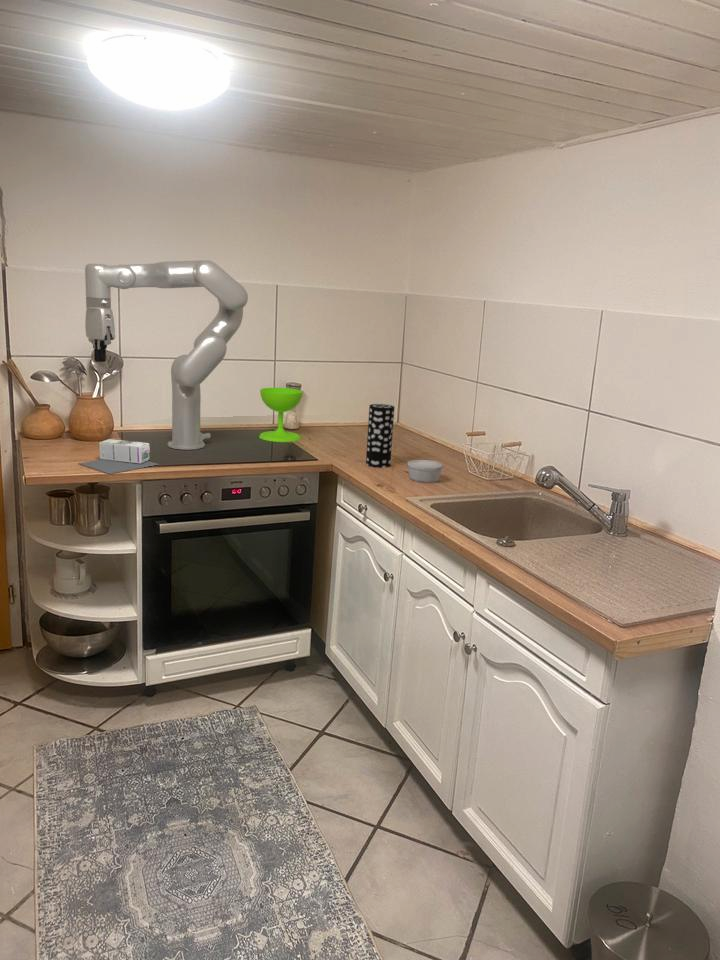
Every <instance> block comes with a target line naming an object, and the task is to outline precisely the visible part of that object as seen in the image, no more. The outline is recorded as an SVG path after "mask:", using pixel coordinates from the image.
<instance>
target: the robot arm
mask: <svg viewBox="0 0 720 960" xmlns="http://www.w3.org/2000/svg"><path fill="white" fill-rule="evenodd" d="M84 277H85V278H84V279H85V281H84V282H85V305H86V306H85V307H86V310H85V336H86V338H88V342H89V343H91V344H92V349H93V353H94V359H93V360H94V362H97V363H102V362H106V361H107V348H108V346H109V345H112V341H114V340H115V339H116V330H115V329H116V327H115V319H114V318H115V317H114V313H113V309H112V299H111V298H112V297H111V294H112V291H111V288H113V289H114V288H116V289H119V290H120V289H121V290H128V289H133V288H134V289H135V288H138V289H139V288H156V289H157V288H158V289H182V288H183V289H184V288H204V289H206V290H207V291H208V292H209V293H210V294H211V295H213V296H214V297H215V298H216V299H217V302H218V311H217V313H216V315H215V317H214V318H213V319H212V321H211V322H210V323H209V324H207V326H206V327H205V328H204V330H203V331H201V333H199V335H198V336H197V337H196V338H195V340H194V342H193V348H192V350H191V351H190V352H189V353H188V354H182V355H178V356H177V357H176V358H175V359H174V360H173V361H172V364H171V367H170V375H171V378H170V379H171V391H172V394H171V395H172V397H171V400H172V402H171V411H172V412H171V417H172V418H171V421H172V422H171V428H172V429H171V430H172V431H171V434H172V435H171V439H172V440H169V441H168V442H167V447H168V448H171V449H174V450H184V451H185V450H186V451H187V450H188V451H190V450H199V449H203V448H204V447H205V442H204V441H205V440H207V439H211V433H210V432H205V433H203V432H201V402H202V401H201V398H202V397H201V384H202V383H203V382H204V381H205V380H206V379H207V378H208V377H209V376H210V375H211V373H212V372H213V371H214V370H215V369H216V368H217V367H218V365H219V364H220V363H221V362H222V361H223V359H224V358H225V356H226V354H227V348H228V346H227V344H228V342H229V341H230V340H231V338H233V336H234V335H235V334H236V333H237V331H238V330H239V328H240V326H241V324H242V321H243V319H244V307H246V305H247V303H248V300H249V298H248V292H247V290H246V288H245V287H244V286H243V285H242V284H240V283H239V281H237V280H236V279H235V278H233V277H232V276H231V275H230V274H229V273H228V272H226V271H225V270H224V269H223V268H222V267H221V266H219V265H218V264H217V263H216V262H214V261H212V260H210V259H209V260H207V259H206V260H202V259H201V260H181V261H180V260H179V261H178V260H177V261H173V260H172V261H158V262H154V263H139V264H117V265H107V264H105V263H104V264H103V263H87V264H86V265H85V267H84Z"/></svg>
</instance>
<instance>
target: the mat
mask: <svg viewBox="0 0 720 960" xmlns="http://www.w3.org/2000/svg"><path fill="white" fill-rule="evenodd" d="M79 464H80V466H83V467H86V468H89V469H91V470H92V469H93V470H95V471H98V472H102V473H104V474H108V475H112V474H119V473H125V472H130V471H135V470H141V469H145V468H144V467H147V468H149V467H148V466H152V467H155V466H154V465H158V466H160V464H159V463H156V462H153V461H150V460H148V461H145V462H143V463H141V464H139V463H130V462H121V461H111V460H104V459H96V460H90V461H83V462H79V463H78V465H79ZM140 468H141V469H140Z"/></svg>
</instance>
